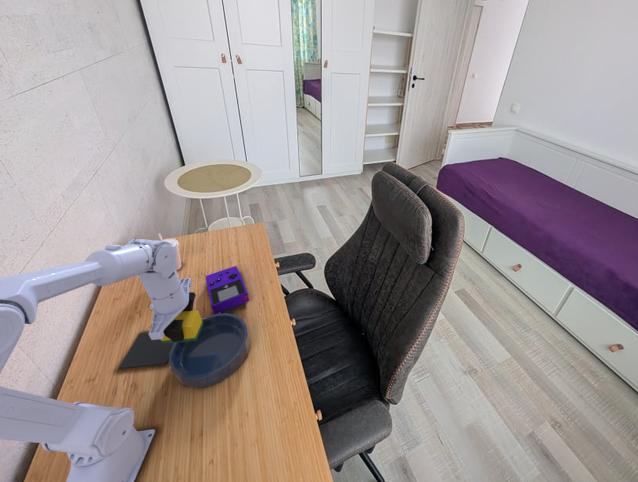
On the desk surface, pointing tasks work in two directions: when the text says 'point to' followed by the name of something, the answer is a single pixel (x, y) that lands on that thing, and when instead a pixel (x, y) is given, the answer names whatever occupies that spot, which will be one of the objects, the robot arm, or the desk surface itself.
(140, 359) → the mat
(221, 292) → the handheld gaming console
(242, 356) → the bowl
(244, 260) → the desk surface
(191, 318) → the sponge
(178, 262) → the smoothie
